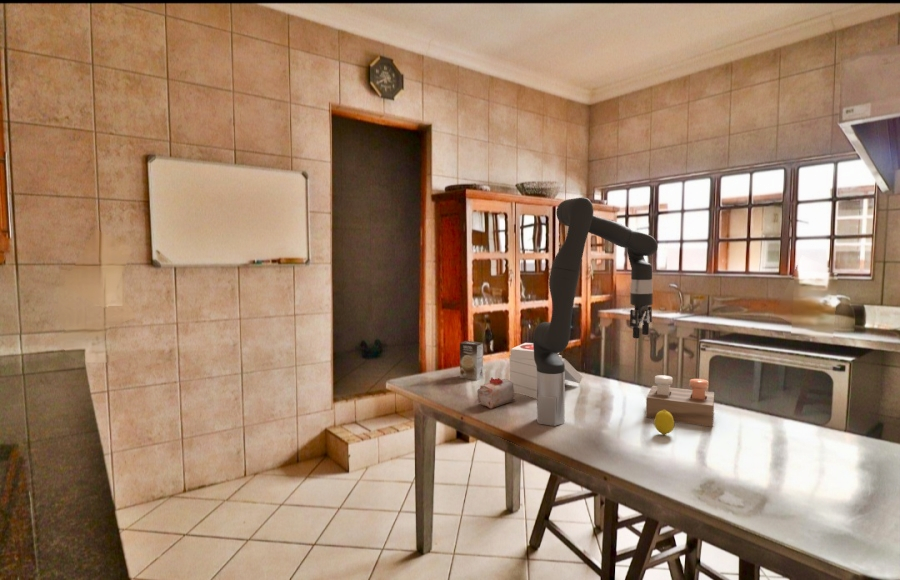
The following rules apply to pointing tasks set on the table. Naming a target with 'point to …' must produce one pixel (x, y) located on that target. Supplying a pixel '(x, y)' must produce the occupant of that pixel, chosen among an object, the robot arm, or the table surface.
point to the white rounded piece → (663, 384)
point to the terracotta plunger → (698, 388)
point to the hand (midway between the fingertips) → (641, 336)
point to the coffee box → (471, 360)
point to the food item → (496, 393)
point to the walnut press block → (682, 406)
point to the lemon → (664, 422)
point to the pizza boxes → (532, 370)
